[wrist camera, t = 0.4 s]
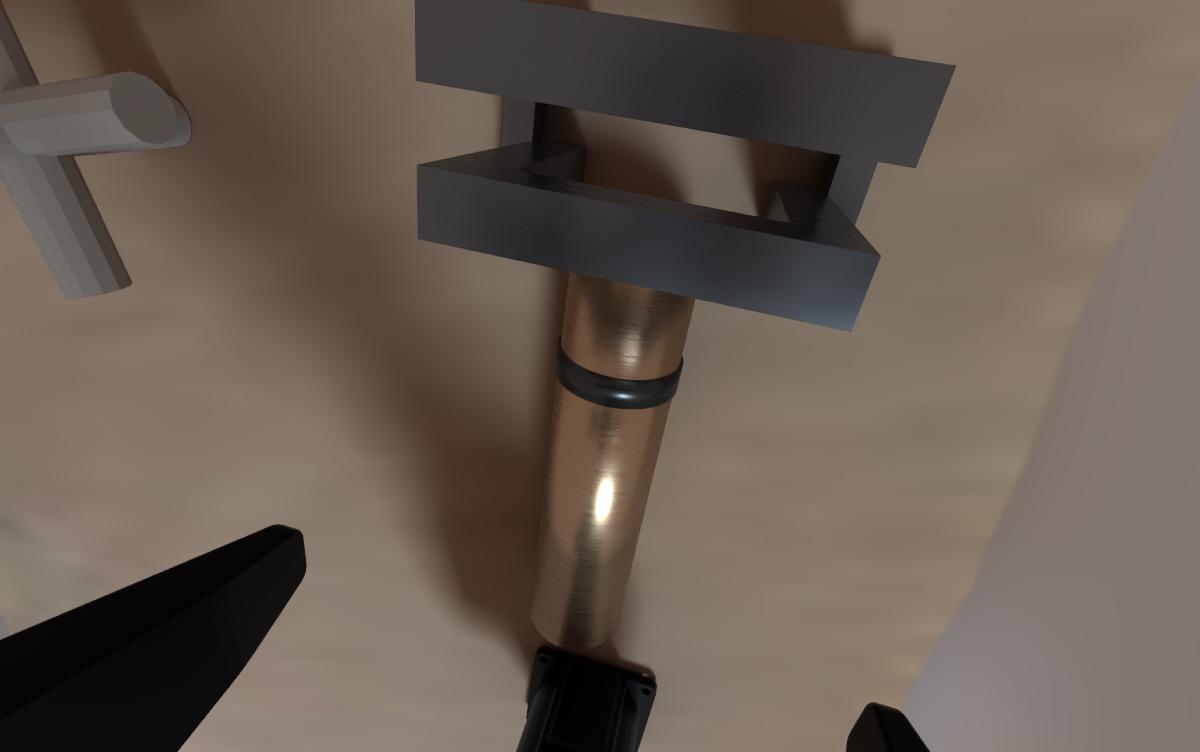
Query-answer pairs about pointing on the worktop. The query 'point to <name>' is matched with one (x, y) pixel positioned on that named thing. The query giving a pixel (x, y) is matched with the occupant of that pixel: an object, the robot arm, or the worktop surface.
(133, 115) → the pipe connector
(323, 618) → the worktop surface
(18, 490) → the worktop surface
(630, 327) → the tube
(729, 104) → the firebox collars
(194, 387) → the worktop surface
